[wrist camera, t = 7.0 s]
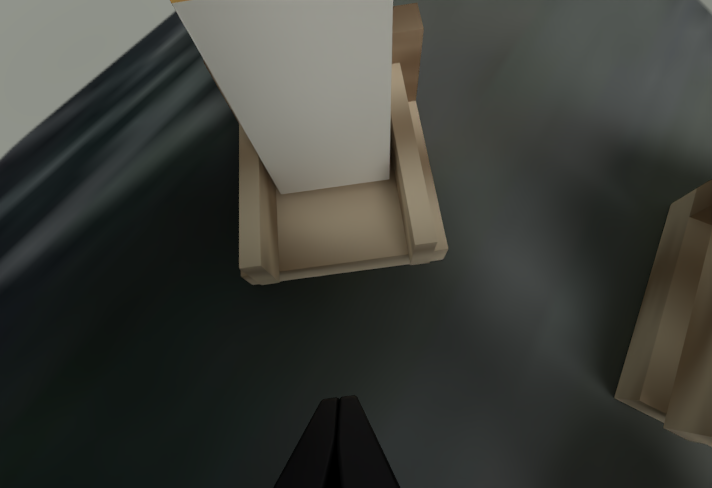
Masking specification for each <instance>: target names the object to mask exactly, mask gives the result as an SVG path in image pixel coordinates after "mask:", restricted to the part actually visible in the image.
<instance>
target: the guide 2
mask: <svg viewBox="0 0 712 488" xmlns="http://www.w3.org/2000/svg"><path fill="white" fill-rule="evenodd" d="M614 398H615V399H617V400H619V401H621V402H623V403H625V404H627V405H629V406H631V407H633V408H635V409H637V410H639V411H641V412H643V413H645V414H647V415H649V416H651V417H653V418H655V419H657V420H659V421H661V422H663V423H664V426H663V428H664V429H666V430H668V431H670V432H672V433H674V434H676V435H678V436H680V437H682V438H684V439H686V440H688V441H693V442H697V443H702V444H707V445H709V446H711V447H712V179H711V180H710V181H708V182H706V183H705V184H703V185H701V186H700V187H698V188H696V189H695V190H693V191H691V192H690V193H688V194H687V195H685V196H683V197H682V198H680V199H678V200H677V201H675V202H673V203H672V204H671V205H670V209H669V212H668V215H667V219H666V222H665V226H664V229H663V233H662V236H661V239H660V243H659V246H658V250H657V253H656V257H655V260H654V263H653V267H652V270H651V274H650V277H649V281H648V284H647V287H646V291H645V294H644V298H643V301H642V304H641V308H640V311H639V315H638V318H637V322H636V325H635V328H634V332H633V335H632V339H631V342H630V346H629V349H628V352H627V356H626V359H625V363H624V366H623V369H622V373H621V376H620V380H619V383H618V387H617V390H616V393H615V397H614Z"/></svg>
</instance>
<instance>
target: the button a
mask: <svg viewBox="0 0 712 488" xmlns="http://www.w3.org/2000/svg"><path fill="white" fill-rule="evenodd" d="M170 1H171V3H172V5H173V7H174V8H175V10H176V12H177V14H178V15H179V17H180V19H181V21H182V22H183V24H184V26H185V28H186V29H187V31H188V33H189V35H190V36H191V38H192V40H193V42H194V43H195V45H196V47H197V49H198V50H199V52H200V54H201V56H202V57H203V59H204V61H205V63H206V64H207V66H208V68H209V70H210V71H211V73H212V75H213V77H214V78H215V80H216V82H217V83H218V85H219V87H220V89H221V90H222V92H223V94H224V96H225V97H226V99H227V101H228V103H229V104H230V106H231V108H232V110H233V111H234V113H235V115H236V117H237V118H238V120H239V122H240V124H241V125H242V127H243V129H244V131H245V132H246V134H247V136H248V138H249V139H250V141H251V143H252V145H253V146H254V148H255V150H256V152H257V153H258V155H259V157H260V159H261V160H262V162H263V164H264V166H265V167H266V169H267V171H268V173H269V174H270V176H271V178H272V180H273V181H274V183H275V185H276V187H277V188H278V190H279V192H280V194H288V193H295V192H303V191H310V190H317V189H324V188H331V187H338V186H345V185H352V184H359V183H367V182H374V181H381V180H388V179H389V170H390V121H391V72H392V23H393V0H170Z"/></svg>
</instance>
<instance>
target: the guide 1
mask: <svg viewBox="0 0 712 488" xmlns="http://www.w3.org/2000/svg"><path fill="white" fill-rule="evenodd" d="M423 30H424V28H423V24H422V20H421V16H420V12H419V8H418V4H417V3H412V4H406V5H400V6H393V23H392V72H391V121H390V170H389V179H388V180H381V181H374V182H367V183H359V184H352V185H345V186H338V187H331V188H324V189H317V190H310V191H303V192H295V193H288V194H280V192H279V190H278V188H277V187H276V185H275V183H274V181H273V180H272V178H271V176H270V174H269V173H268V171H267V169H266V167H265V166H264V164H263V162H262V160H261V159H260V157H259V155H258V153H257V152H256V150H255V148H254V146H253V145H252V143H251V141H250V139H249V138H248V136H247V134H246V132H245V131H244V129H243V127H242V125H241V124H240V122H239V120H238V118H237V117H236V115H235V113H234V111H233V110H232V108H231V106H230V104H229V103H228V101H227V99H226V97H225V96H224V94H223V92H222V90H221V89H220V87H219V85H218V83H217V82H216V80H215V78H214V77H213V75H212V73H211V71H210V70H209V68H208V66H207V64H206V63H205V61H204V64H205V66H206V67H207V69H208V71H209V73H210V74H211V76H212V78H213V79H214V81H215V83H216V85H217V86H218V88H219V90H220V92H221V93H222V95H223V97H224V99H225V100H226V102H227V104H228V105H229V107H230V109H231V111H232V112H233V114H234V116H235V118H236V119H237V121H238V123H239V269H240V270H241V277H242V278H243V279H245V280H246V281H248V282H249V283H251V284H252V285H256V284H261V285H266V284H273V283H280V281H286V280H294V279H301V278H309V277H316V276H324V275H331V274H339V273H346V272H354V271H361V270H369V269H376V268H384V267H391V266H399V265H407V264H410V265H417V264H424V263H430V261H437V260H443V259H444V257H445V255H446V253H447V250H448V245H447V241H446V236H445V232H444V227H443V223H442V218H441V213H440V209H439V204H438V200H437V195H436V191H435V186H434V182H433V177H432V173H431V168H430V163H429V159H428V154H427V150H426V145H425V141H424V136H423V132H422V127H421V123H420V118H419V113H418V109H417V104H416V94H417V85H418V75H419V66H420V57H421V48H422V39H423Z"/></svg>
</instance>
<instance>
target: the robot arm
mask: <svg viewBox="0 0 712 488" xmlns="http://www.w3.org/2000/svg"><path fill="white" fill-rule="evenodd" d="M274 488H400V486H399V484H398V482H397V479H396V477H395V475H394V473H393V471H392V469H391V467H390V465H389V463H388V461H387V458H386V456H385V454H384V452H383V450H382V448H381V446H380V444H379V442H378V440H377V437H376V435H375V433H374V431H373V429H372V427H371V425H370V423H369V421H368V419H367V416H366V414H365V412H364V410H363V408H362V406H361V404H360V402H359V400H358V398H357V396H355V395H353V396H345V397H341V398H340V400H339V398H328V399H323V400H322V401H321V402H320V404H319V406H318V407H317V409H316V411H315V413H314V415H313V416H312V418H311V420H310V422H309V424H308V426H307V427H306V429H305V431H304V433H303V435H302V437H301V438H300V440H299V442H298V444H297V446H296V447H295V449H294V451H293V453H292V455H291V457H290V458H289V460H288V462H287V464H286V466H285V467H284V469H283V471H282V473H281V475H280V477H279V478H278V480H277V482H276V484H275V486H274Z"/></svg>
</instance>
